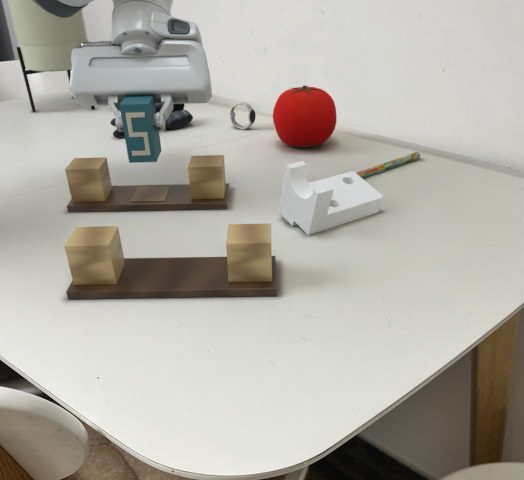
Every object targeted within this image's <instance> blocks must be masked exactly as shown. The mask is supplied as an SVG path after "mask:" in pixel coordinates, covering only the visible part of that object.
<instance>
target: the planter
mask: <svg viewBox="0 0 524 480" xmlns="http://www.w3.org/2000/svg"><path fill="white" fill-rule="evenodd" d="M6 2H7V5H8V6H7V7H8V9H9V14H10V18H11V22H12V26H13V29H14V30H13V31H14V33H15V37H16V42H17V46H16V53H17V56H18V60H19V63H20V67H21V71H22V76H23V79H24V83H25V88H26V92H27V96H28V99H29V103H30V107H31V111H32V113H35V112H36V106H35V102H34V98H33V96H32V95H33V94H32V92H31V91H32V90H31V86H30V82H29V79H28V75H33V74H40V73H51V72H65V71H66V74H67V77H68V83H69V82H70V74H71V69H72V64H71V54H72V50H73V49H74V48H75V47H77V46H79V45H81V43H82V42H89V37H88V32H87V27H86V26H87V25H86V20H85V14H84V8H82V9H81V10H80V11H78V12H77V13H75V14H74V15H73V16H71V17H68V18H62V17H58V16H55V15H53V14H51V13H49V12H47V11H45V10H43V9H42V8H41V7H39V6H38V5H37V4H36V3H35V2H34V1H33V0H6ZM71 98H72V99H74V97H73V96H72V95H71ZM90 109H91V110H96V106H90Z"/></svg>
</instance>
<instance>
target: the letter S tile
mask: <svg viewBox="0 0 524 480" xmlns="http://www.w3.org/2000/svg"><path fill="white" fill-rule="evenodd" d="M119 112H120V115H121V117H122V123H123V129H124V135H125V136H124V140H125V147H126V153H127V159H128V163H130V164H132V163H133V164H134V163H157V162H158V159H159V158H160V156H161V153H162V144H161V137H160V131H155V128H154V126H153V120H154V119H153V114H158V113H156V106H155V98H154V95H135V96H126V97H125V98H124V100H123V101H122V102H121V103H120V111H119Z"/></svg>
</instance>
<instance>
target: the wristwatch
mask: <svg viewBox="0 0 524 480" xmlns="http://www.w3.org/2000/svg"><path fill="white" fill-rule="evenodd" d="M237 106H244V107H245V108H246V109H247V112H248V117H247V118H248V122H249V124H248V126H244V125H241V124H240V123H238V122H237V121H236V112H235V108H236V107H237ZM229 111H230V113H229V116H230V122H231V124H232V125H233V126H234V127H235V128H237V129H240V130H246V129H248V128H250V127H251V126H253V125H254V123H255V122H256V111H255V109H254V108H253V107H252V105H251V104H249V103H248V102H245V101H244V102H243V101H241V102H239V103H237V104H235V105H233V106H231V108H230V110H229Z"/></svg>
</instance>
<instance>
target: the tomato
mask: <svg viewBox="0 0 524 480" xmlns="http://www.w3.org/2000/svg"><path fill="white" fill-rule="evenodd" d="M272 121H273V125H274V129H275V131H276V135H277V136H278V138H279V140H280V141H281V142H282V143H283V144H285V145H286V146H289V147H293V148H310V147H316V146H320V145H322V144H324V143H325V142H326V141H328V140H329V139H330V137H332V135H333V134H334V131H335V130H336V126H337V107H336V104H335V101H334V99H333V98H332V96H331V94H329V92H327V91H326V90H324V89H322V88H319V87H315V86H308V84H307V85H305V84H304V85H302V86H299V87H291V88H288V89H286V90H285V91H282V93H281V94H280V95H279V96H278V98H277V100H276V102H275V104H274V107H273V110H272Z"/></svg>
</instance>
